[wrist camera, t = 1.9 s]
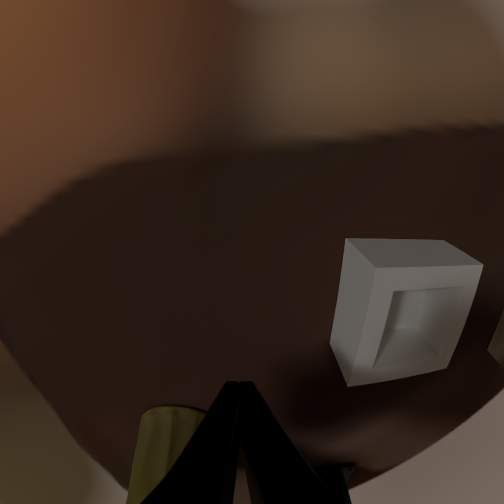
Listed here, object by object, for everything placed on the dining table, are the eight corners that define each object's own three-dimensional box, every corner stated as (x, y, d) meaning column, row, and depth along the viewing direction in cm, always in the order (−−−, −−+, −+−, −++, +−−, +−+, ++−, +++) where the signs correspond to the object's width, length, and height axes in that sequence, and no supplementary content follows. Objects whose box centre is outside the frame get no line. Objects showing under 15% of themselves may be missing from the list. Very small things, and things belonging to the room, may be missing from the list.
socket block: (419, 333, 16) (446, 368, 13) (329, 343, 16) (347, 386, 12) (443, 240, 14) (483, 264, 11) (345, 238, 14) (375, 267, 10)
